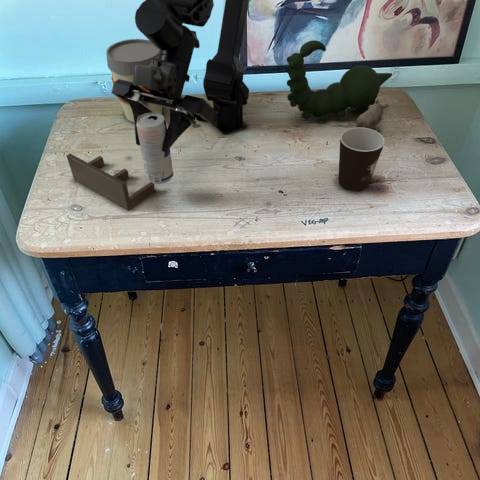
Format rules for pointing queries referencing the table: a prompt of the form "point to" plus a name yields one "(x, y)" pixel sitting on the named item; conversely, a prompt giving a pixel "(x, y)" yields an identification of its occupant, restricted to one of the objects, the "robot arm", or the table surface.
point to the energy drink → (154, 148)
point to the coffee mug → (358, 157)
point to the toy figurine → (332, 87)
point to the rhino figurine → (371, 116)
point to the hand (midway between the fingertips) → (150, 148)
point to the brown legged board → (107, 182)
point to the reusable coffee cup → (131, 65)
